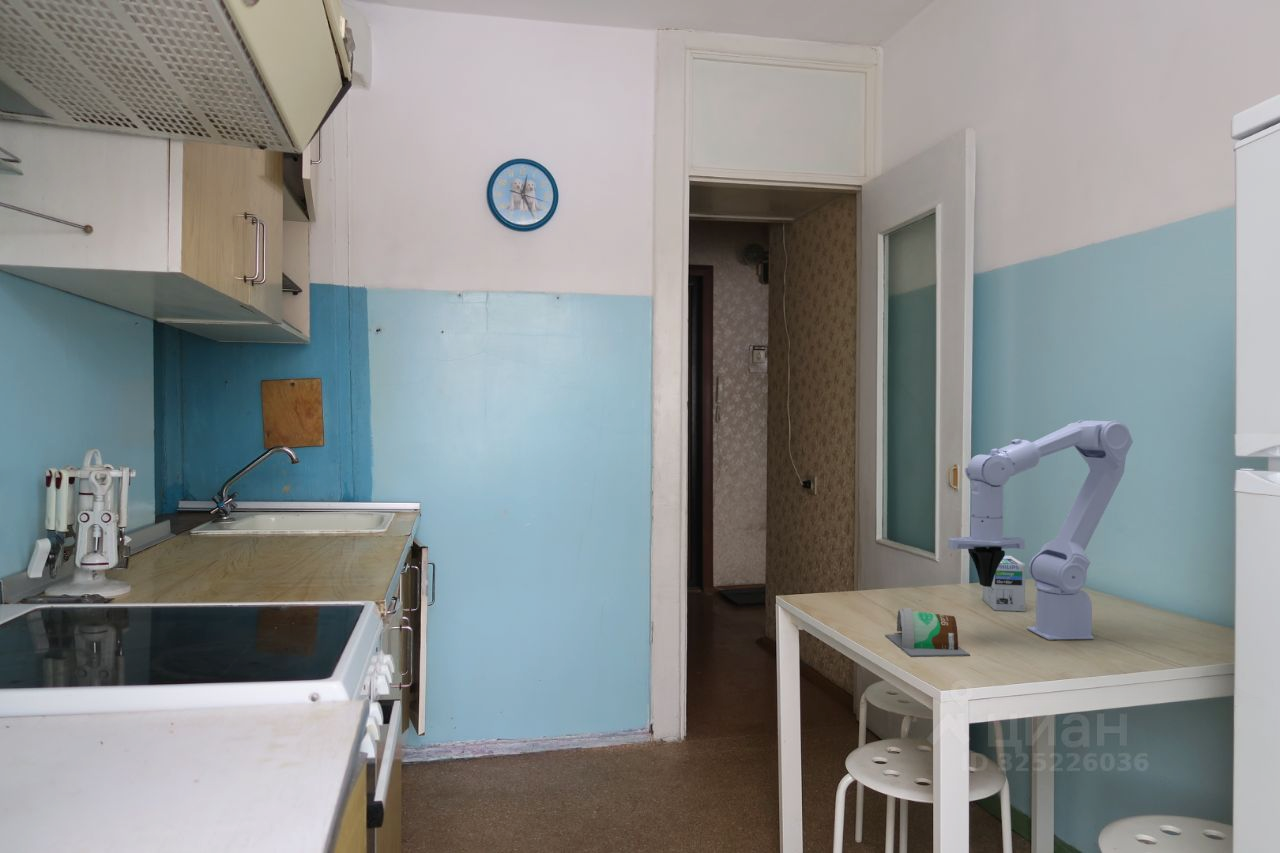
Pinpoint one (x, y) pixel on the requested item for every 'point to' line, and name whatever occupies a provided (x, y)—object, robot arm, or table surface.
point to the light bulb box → (1007, 586)
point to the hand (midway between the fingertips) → (985, 585)
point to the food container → (927, 630)
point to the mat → (925, 652)
